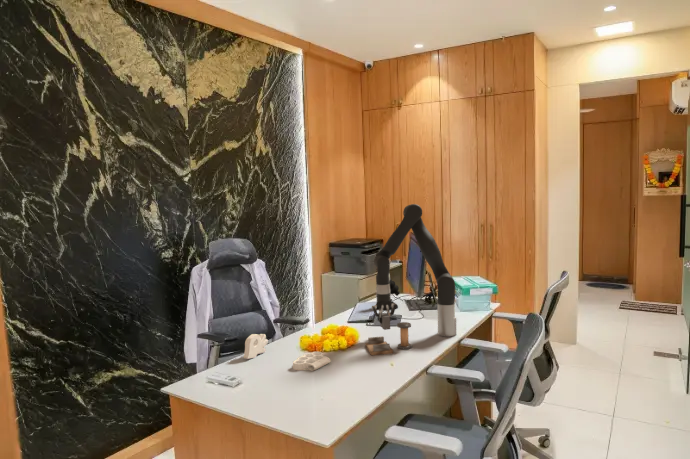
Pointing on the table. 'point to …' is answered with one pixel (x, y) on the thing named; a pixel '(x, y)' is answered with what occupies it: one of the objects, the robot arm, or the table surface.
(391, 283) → the sculpture
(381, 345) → the terminal board
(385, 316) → the grey brown rectangular block
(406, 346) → the bobbin
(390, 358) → the table surface
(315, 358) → the beige block with wells
